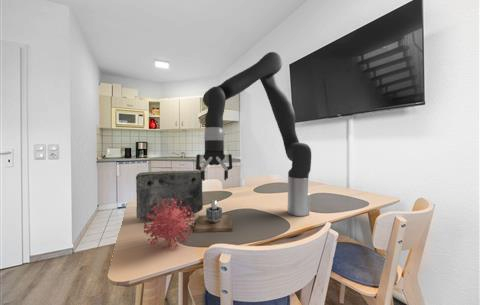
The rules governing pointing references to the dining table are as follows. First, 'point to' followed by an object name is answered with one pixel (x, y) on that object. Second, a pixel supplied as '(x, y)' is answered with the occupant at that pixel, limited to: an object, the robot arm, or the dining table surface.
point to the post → (214, 208)
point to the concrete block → (168, 191)
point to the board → (205, 226)
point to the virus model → (169, 223)
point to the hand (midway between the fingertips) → (214, 180)
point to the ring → (214, 213)
